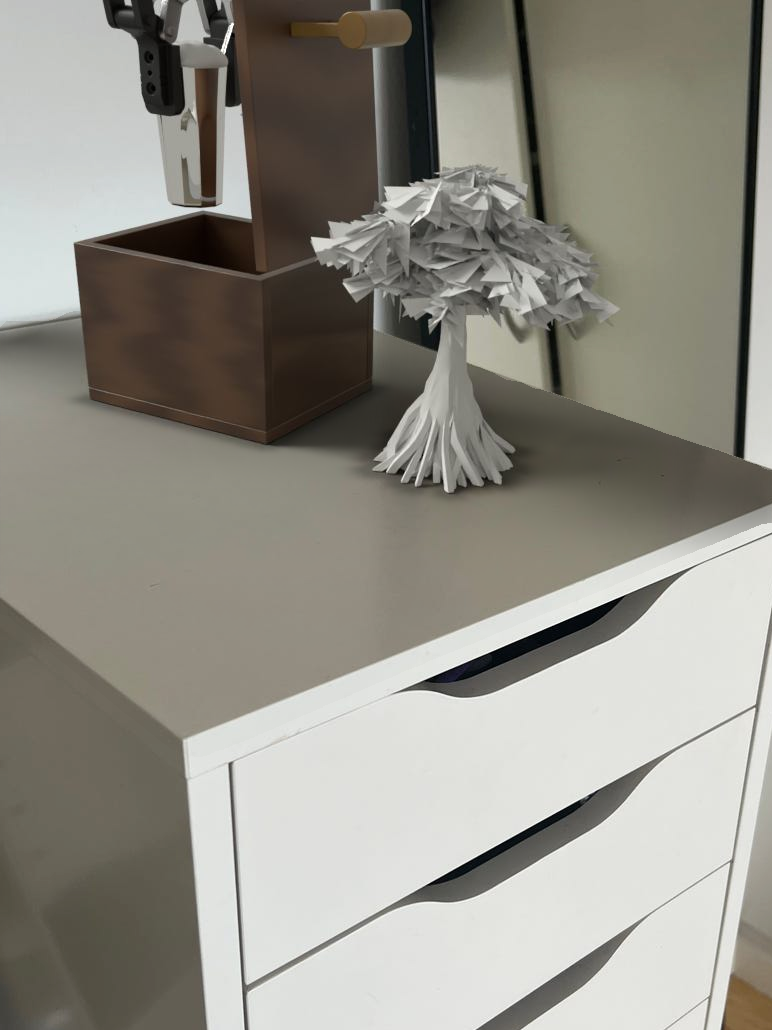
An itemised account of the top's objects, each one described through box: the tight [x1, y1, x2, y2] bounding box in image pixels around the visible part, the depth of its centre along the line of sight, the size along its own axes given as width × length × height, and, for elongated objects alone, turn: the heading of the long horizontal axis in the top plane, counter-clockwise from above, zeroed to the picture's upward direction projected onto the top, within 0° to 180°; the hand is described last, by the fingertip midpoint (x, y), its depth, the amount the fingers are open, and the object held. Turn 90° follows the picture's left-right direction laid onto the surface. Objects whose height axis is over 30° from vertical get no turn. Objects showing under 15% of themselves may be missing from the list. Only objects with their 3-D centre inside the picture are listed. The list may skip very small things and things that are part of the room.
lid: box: [232, 0, 413, 272], centre depth 69 cm, size 14×13×6 cm
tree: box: [310, 163, 621, 494], centre depth 68 cm, size 18×16×17 cm
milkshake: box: [156, 23, 234, 209], centre depth 73 cm, size 4×5×10 cm
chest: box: [73, 209, 375, 445], centre depth 78 cm, size 14×13×10 cm
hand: (195, 108), depth 73 cm, fingers closed on milkshake, 5 cm apart
